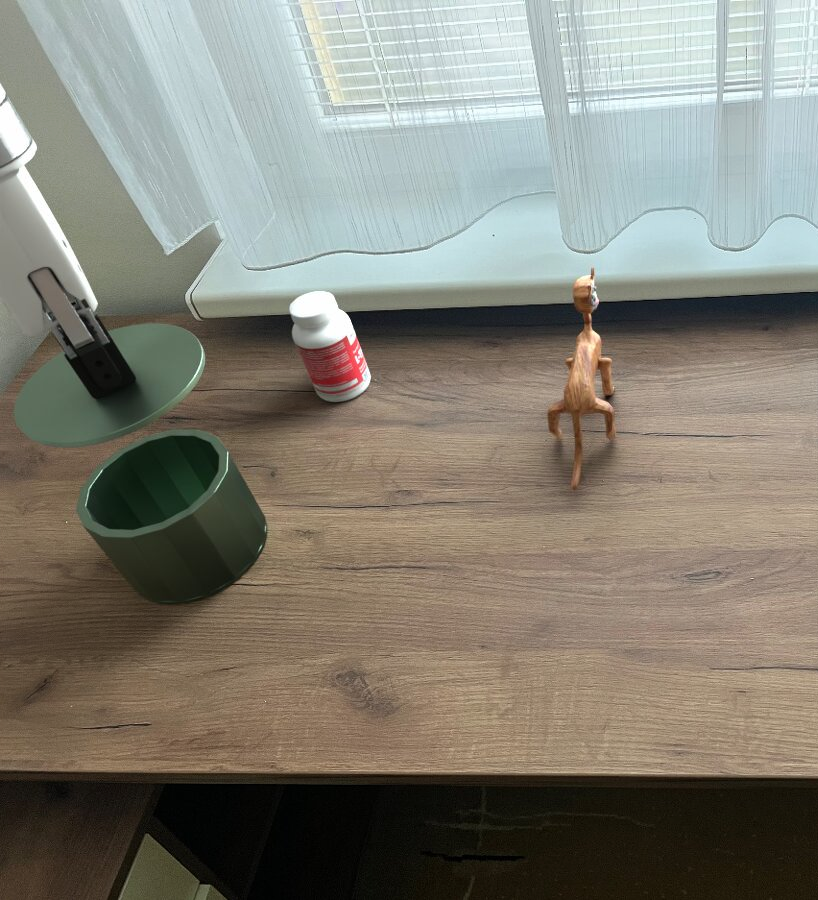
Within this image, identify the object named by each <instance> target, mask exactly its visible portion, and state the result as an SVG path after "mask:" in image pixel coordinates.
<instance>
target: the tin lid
mask: <svg viewBox="0 0 818 900" xmlns="http://www.w3.org/2000/svg"><path fill="white" fill-rule="evenodd" d="M80 319H81V320H82V322H83V323H86V322H87V323H88V321H87V320H86V318H85V317H83V318H80ZM88 324H89V323H88ZM60 329H61V330H62V332H65V331H64V330H63V328H62V327H60ZM107 331H108V333H109V335H110V336H111V338H112V339H113V341H114V342H115V344H116V346H117V347H118V349H119V351H120V352H121V354H122V355H123V357H124V359H125V360H126V362H127V364H128V365H129V367H130V368H131V370H132V372H133V373H134V375H135V377H136V381H135V382H134V383H132V384H130V385H128V386H126V387H124V388H121V389H119V390H117V391H115V392H113V393H111V394H108V395H106V396H104V397H102V398H100V399H94V398H93V397H92V396H91V395H90V393H89V392H88V390H87V389H86V387H85V386H84V384H83V383H82V382H81V380H80V379H79V377H78V376H77V374H76V373H75V371H74V370H73V368H72V367H71V365H70V364H69V362H68V361H67V359H66V358H65V356H64V354H66V353H65V352H64V350H62V351H61V352H60V353H58V354H56V355H55V356H54V357H52V358H51V359H49V360H48V361H47V362H46V363H44V364H43V365H42V366H41V367H39V368H38V369H37V370H36V371H35V372H34V373H33V374H32V375H31V376H30V377H29V379H28V380H27V381H26V382H25V384H24V385H23V386H22V388H21V390H20V391H19V392H18V395H17V397H16V399H15V403H14V407H13V417H14V420H15V423H16V425H17V427H18V428H19V430H20V431H21V433H23V434H24V435H25V437H26V438H28V439H29V440H31V441H33V442H35V443H37V444H40V445H42V446H46V447H51V448H63V449H64V448H65V449H66V448H67V449H68V448H69V449H70V448H81V447H82V448H83V447H89V446H93V445H98V444H102V443H106V442H109V441H114V440H117V439H119V438H122V437H125V436H127V435H129V434H132V433H134V432H136V431H139V430H141V429H143V428H145V427H146V426H148V425H150V424H153V423H155V422H156V421H157V420H159V419H160V418H162V417H164V416H165V415H166V414H167V413H169V412H170V411H172V410H173V409H174V408H176V407H177V406H178V405H179V404H180V403H181V402H182V401H184V400H185V398H187V396H188V395H190V393H192V391H193V389H194V388H195V387H196V386H197V384H198V382H199V380H200V379H201V378H202V375H203V372H204V369H205V365H206V354H205V350H204V347H203V346H202V344H201V342H200V340H199V339H198V337H197V336H195V335H194V333H192V332H191V331H189V330H187V329H185V328H183V327H180V326H178V325H173V324H168V323H167V324H166V323H140V324H134V325H127V326H123V327H117V328H115V329H110V330H107Z"/></svg>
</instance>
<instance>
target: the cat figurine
mask: <svg viewBox="0 0 818 900" xmlns="http://www.w3.org/2000/svg"><path fill="white" fill-rule="evenodd" d="M572 290H573V291H572V299H573V304H574V308H575V310H577V312H578V313H580V314H582V318H583V321H584V327H583V330H582V331H581V332H580V333H579V334H578V336H577V337H576V339H575V349H574V352H573V357H569V358H566V359H565V360H564V364H565V365H566V367H567V369H568V370H569V373H568V378H567V380H566V383H565V386H564V389H563V399H561V400H558V401H556V402H554V403H552V405H551V406H550V407H549V408H548V409H547V413H546V415H547V416H546V419H547V425H548V430H549V433H550V434H552V435H553V436H554V437H555V438H556V439H557V440H558V441H560V440H561V439H562V435H563V431H562V429H561V428H559V424H560V420H561V415H562V414H568V415H571V419H572V427H573V435H574V461H573V469H572V475H571V480H570V489H571V490H572V491H576V490H577V489H578V487H579V483H580V477H581V473H582V466H583V465H582V464H583V451H584V450H583V443H584V442H583V428H582V427H583V426H582V420H581V417H582V416H585V415H597V414H601V415H603V417H604V424H605V436H606V438H607V440H609V441H612V440H613V439H614V438H616V436H617V430H616V428H615V417H616V413H615V409H614V407H613V406H612V405H611V404H610V403H609V402H608V401H607V400H604V399H601V398H599V397H597V396H596V395H595V393H596V392H595V382H596V375H597V373H598V371H599V372H600V377H601V379H600V380H601V386H602V393H603V394H604V396H611V395H613V394H614V392H615V389H616V388H615V386H614V385H613V382H612V381H613V380H612V368H611V365H612V363H613V361H612V359H611V358H609V357H602V352H601V351H602V338H601V337H600V335H599V334H598V333H597V332H595V331H594V330H593V327H592V315H591V314H592V313H594V311H596V310H597V308H598V305H599V301H600V300H599V298H598V294H597V292H596V291H597V286H596V285H595V267H594V266H591V268H590V275H583V276H581V277H579V278H577V279H576V280H575V281H574V283H573V289H572Z"/></svg>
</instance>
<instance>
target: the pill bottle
mask: <svg viewBox="0 0 818 900" xmlns="http://www.w3.org/2000/svg"><path fill="white" fill-rule="evenodd" d="M288 311H289V312H288V313H289V315H290V317H291V320H292V322H293V323H294V324H293V326H292V328H291V329H292V330H291V337H292V339H293V342H294V344H295V347H296V349H297V351H298V353H299V356H300V358H301V360H302V362H303V366H304V367H305V370H306V372H307V374H308V376H309V378H310V381H311V384H312V386H313V388H314V390H315V392H316V394H317V396H318V397H320V398H321V399H322V400H324V401H327V402H332V403H338V402H339V403H340V402H346V401H349V400H352V399H354V398H357V397H358V396H359V395H361V394H362V393H364V391H366V390H367V388H368V387H369V385H370V383H371V373H370V369H369V367H368V364H367V361H366V358H365V355H364V353H363V351H362V348H361V345H360V342H359V339H358V337H357V334H356V331H355V329H354V326H353V324H352V323H353V322H352V321H351V319H350V317H349V315H348V314H347V313H346V312H345V311H343V310H342V309H339V306H338V303H337V301H336V299H335V296H334V295H333V294H332V293H331V292H328V291H323V290H317V291H309V292H307V293H304V294H302V295H300V296H298V297H296V298H294V300H293V301H292V302H291V303H290V305H289V307H288Z"/></svg>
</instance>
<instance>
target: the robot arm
mask: <svg viewBox="0 0 818 900" xmlns="http://www.w3.org/2000/svg"><path fill="white" fill-rule="evenodd" d="M37 150H38V147H37V143H36V142H35V140H34V138H33V137H32V136H31V134H30V132H29V131H28V128H27V127H26V125H25V123H24V121H23V119H22V118H21V116H20V114H19V113H18V111H17V110H16V108H15V106H14V104H13V103H12V101H11V99H10V98H9V95H8V94H7V92H6V90H5V89H4V87H3V85H2V84H1V83H0V300H1V302H2V303H3V305H4V306H5V308H6V309H7V311H8V312H9V314H10V315H11V317H12V319H13V320H14V322H15V323H16V324H17V326H18V328H19V329H20V331H21V332H22V333H23V335H24V336H26V337H30V338H36V337H38V334H40V333H42V332H45V331H46V328H45V327H47V328H48V329H49V330H50V331H51V332H52V335H53V338H54V339H55V340H56V342H57V343H58V344H59V345H58V346H60V348H61V349H62V351H64V352H65V353H66V354H64V356H65V358H66V359H67V361H68V362H69V364H70V365H71V367H72V368H73V370H74V371H75V373H76V374H77V376H78V377H79V379H80V380H81V382H82V383H83V384H84V386H85V387H86V389H87V390H88V392H89V393H90V395H91V396H92V397H93V398H94V399H100V398H102V397H104V396H106V395H108V394H111V393H113V392H115V391H117V390H119V389H121V388H124V387H126V386H128V385H130V384H132V383H134V382H135V381H136V377H135V375H134V373H133V372H132V370H131V368H130V367H129V365H128V364H127V362H126V360H125V359H124V357H123V355H122V354H121V352H120V351H119V349H118V347H117V346H116V344H115V342H114V341H113V339H112V338H111V336H110V335H109V333H108V331H109V330H107V328H106V327H105V325H104V324H103V321H102V320H101V318H100V316H99V315H98V314H95V315H94V314H93V313H95V311H96V309H97V307H98V305H99V303H98V300H97V298H96V296H95V294H94V292H93V289H92V288H91V284H90V283H89V281H88V279H87V277H86V274H85V272H84V270H83V268H82V266H81V265H80V262H79V260H78V258H77V256H76V255H75V252H74V251H73V248H72V247H71V245H70V242H69V241H68V239H67V237H66V236H65V233H64V232H63V229H62V228H61V226H60V224H59V222H58V221H57V219H56V217H55V216H54V214H53V212H52V210H51V209H50V206H49V205H48V203H47V202H46V200H45V198H44V196H43V195H42V192H41V191H40V189H39V187H38V186H37V185H36V182H35V181H34V179H33V178H32V176H31V174H30V172H29V171H28V169H27V167H26V164H27V163H28V162H30V161H31V160H32V159H33V157H34V156H35V155H36V152H37ZM83 317H85V318H86V320H87V321H88V323H89V324H88V323H87V322H86V323H83V322H82V320H81V319H80V318H83ZM45 325H46V326H45ZM60 327H62V328H63V330H64V331H65V332H62V330H61V329H60Z"/></svg>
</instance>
